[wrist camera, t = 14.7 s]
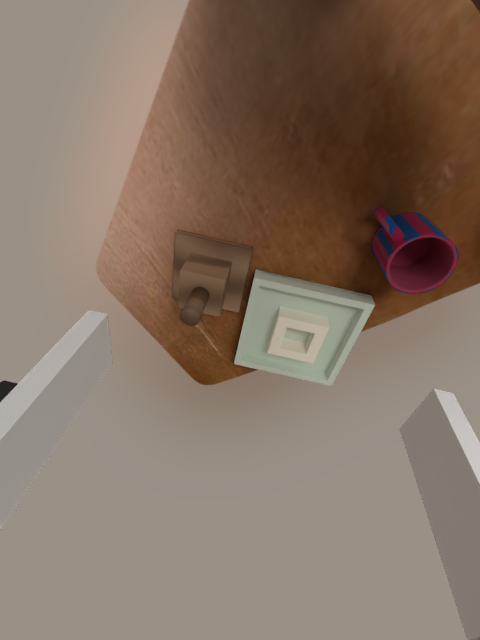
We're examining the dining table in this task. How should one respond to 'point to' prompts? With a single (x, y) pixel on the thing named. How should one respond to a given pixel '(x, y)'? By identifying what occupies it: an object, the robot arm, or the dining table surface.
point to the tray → (262, 309)
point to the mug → (413, 252)
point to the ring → (298, 321)
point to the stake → (208, 275)
